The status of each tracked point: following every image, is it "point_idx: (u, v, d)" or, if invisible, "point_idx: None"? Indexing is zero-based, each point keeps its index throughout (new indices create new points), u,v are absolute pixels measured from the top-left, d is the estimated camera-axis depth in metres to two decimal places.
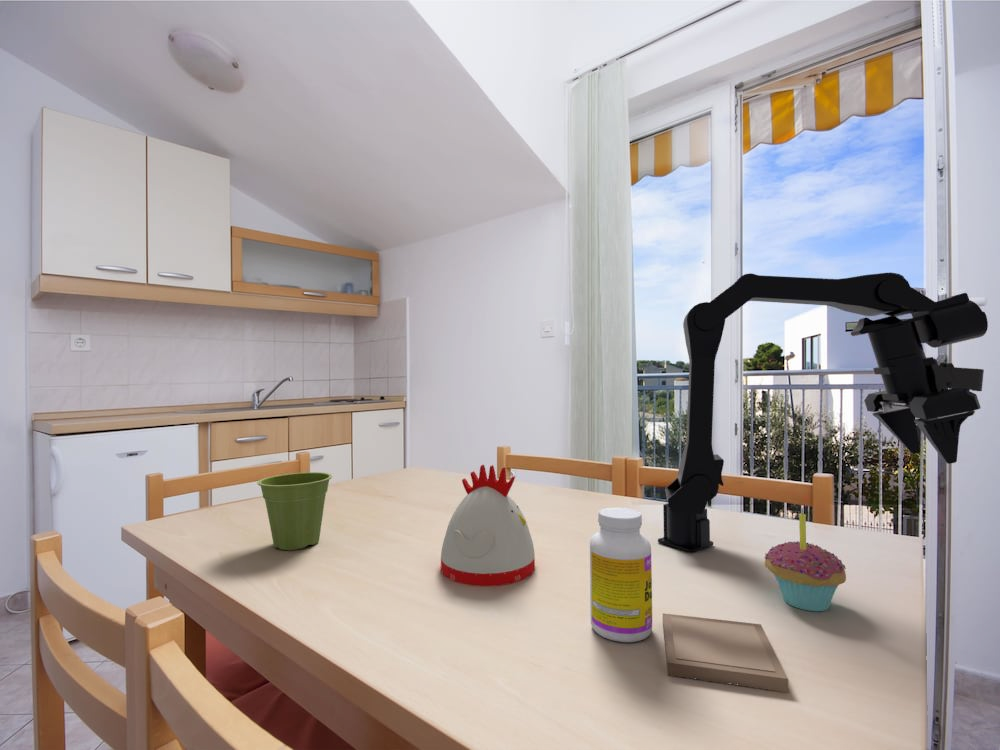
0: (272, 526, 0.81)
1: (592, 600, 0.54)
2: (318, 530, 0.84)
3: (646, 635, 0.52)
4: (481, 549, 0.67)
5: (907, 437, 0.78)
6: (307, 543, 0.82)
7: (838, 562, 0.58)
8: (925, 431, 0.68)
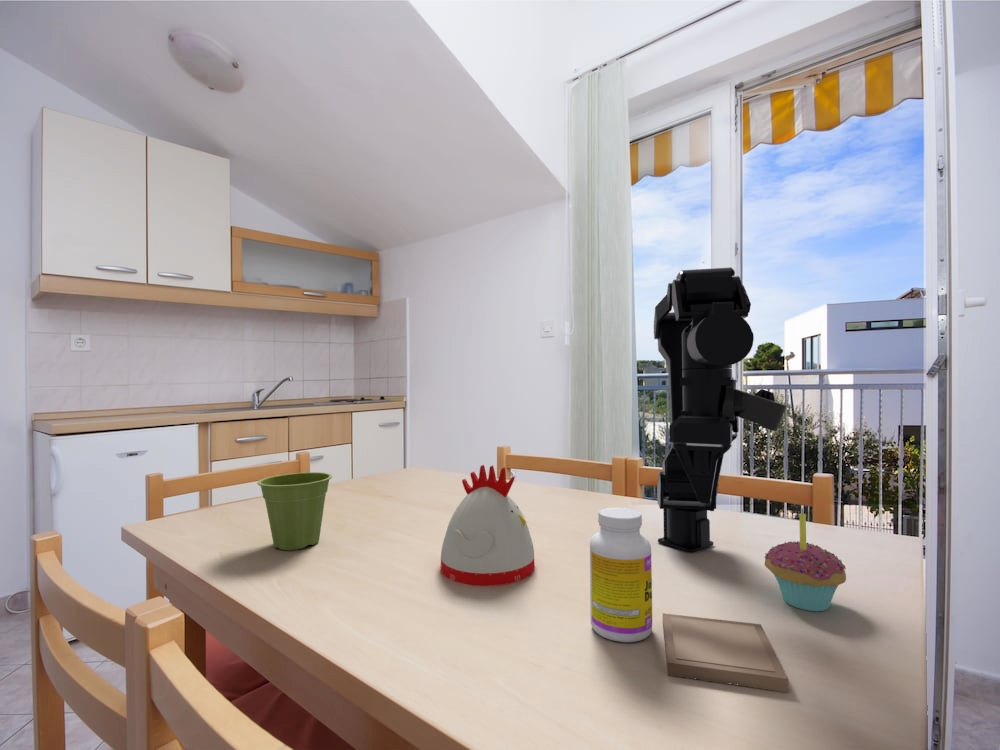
0: (272, 526, 0.81)
1: (592, 600, 0.54)
2: (318, 530, 0.84)
3: (646, 635, 0.52)
4: (481, 549, 0.67)
5: None
6: (307, 543, 0.82)
7: (838, 562, 0.58)
8: None
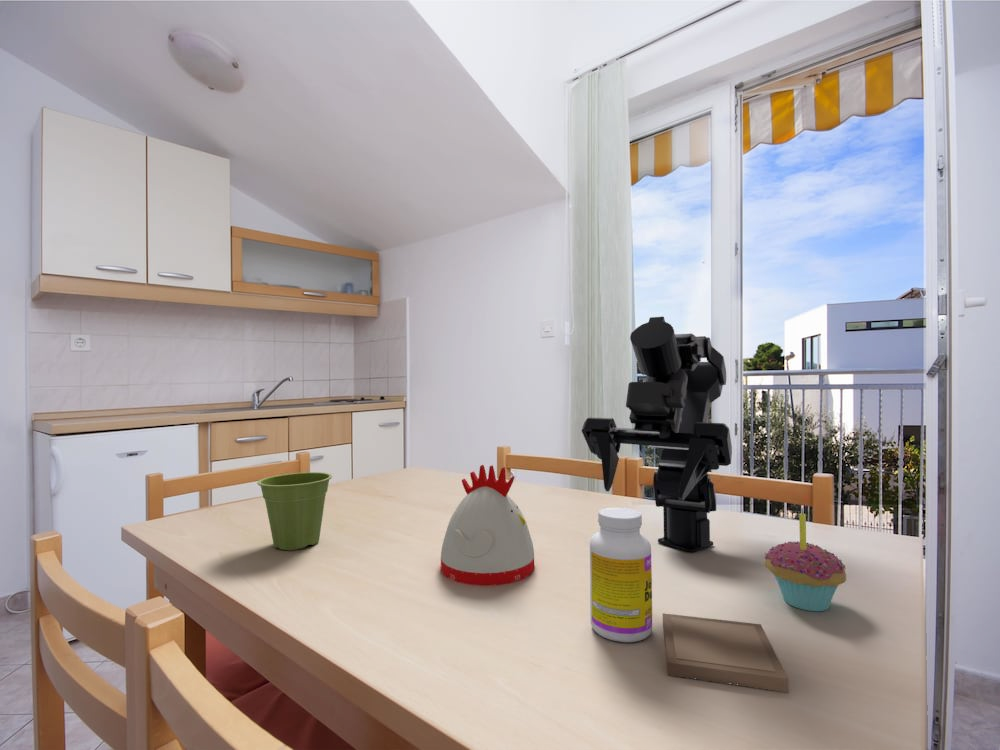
0: (272, 526, 0.81)
1: (592, 600, 0.54)
2: (318, 530, 0.84)
3: (646, 635, 0.52)
4: (481, 549, 0.67)
5: None
6: (307, 543, 0.82)
7: (838, 562, 0.58)
8: None
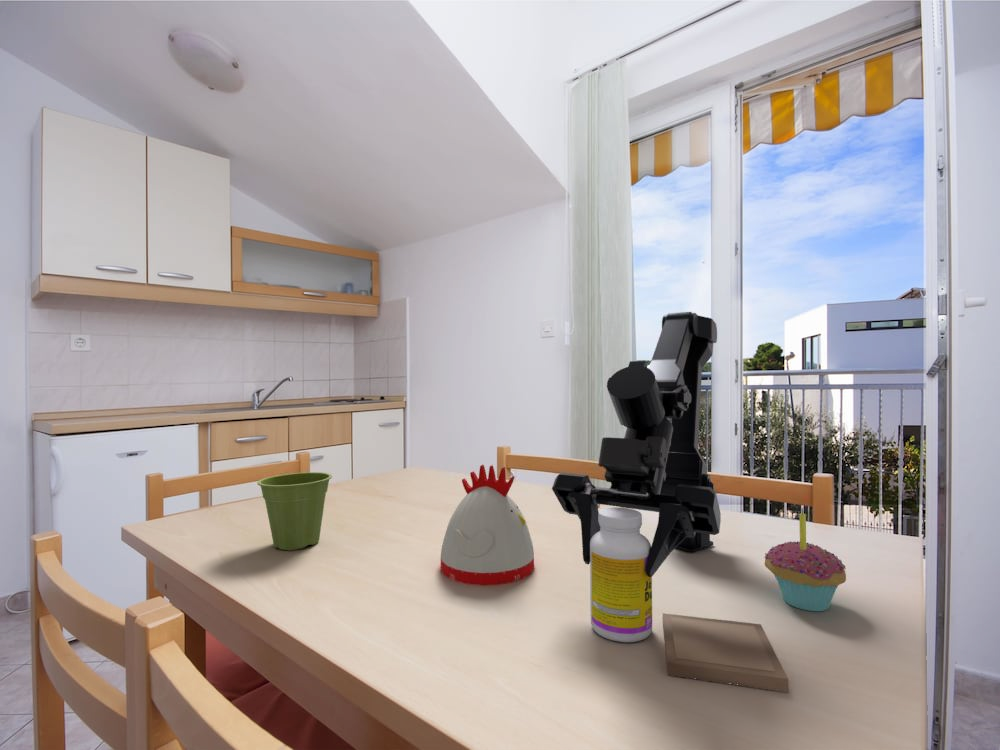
0: (272, 526, 0.81)
1: (592, 600, 0.54)
2: (318, 530, 0.84)
3: (646, 635, 0.52)
4: (481, 548, 0.67)
5: None
6: (307, 543, 0.82)
7: (838, 562, 0.58)
8: None
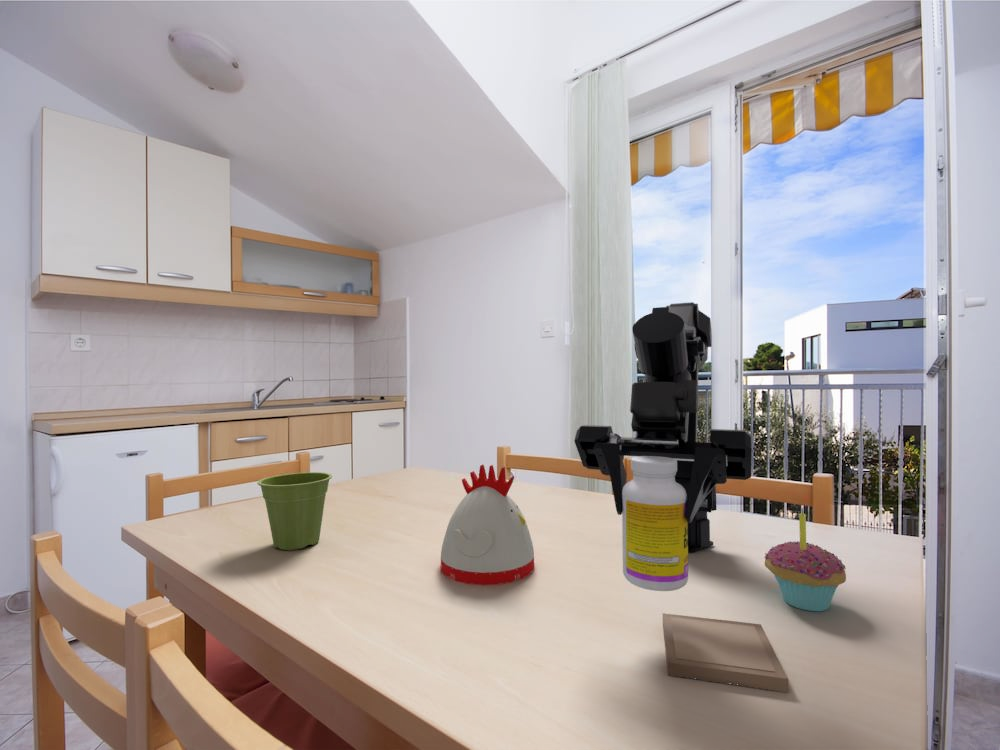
0: (272, 526, 0.81)
1: (627, 551, 0.51)
2: (318, 530, 0.84)
3: (684, 583, 0.50)
4: (481, 548, 0.67)
5: None
6: (307, 543, 0.82)
7: (838, 562, 0.58)
8: None
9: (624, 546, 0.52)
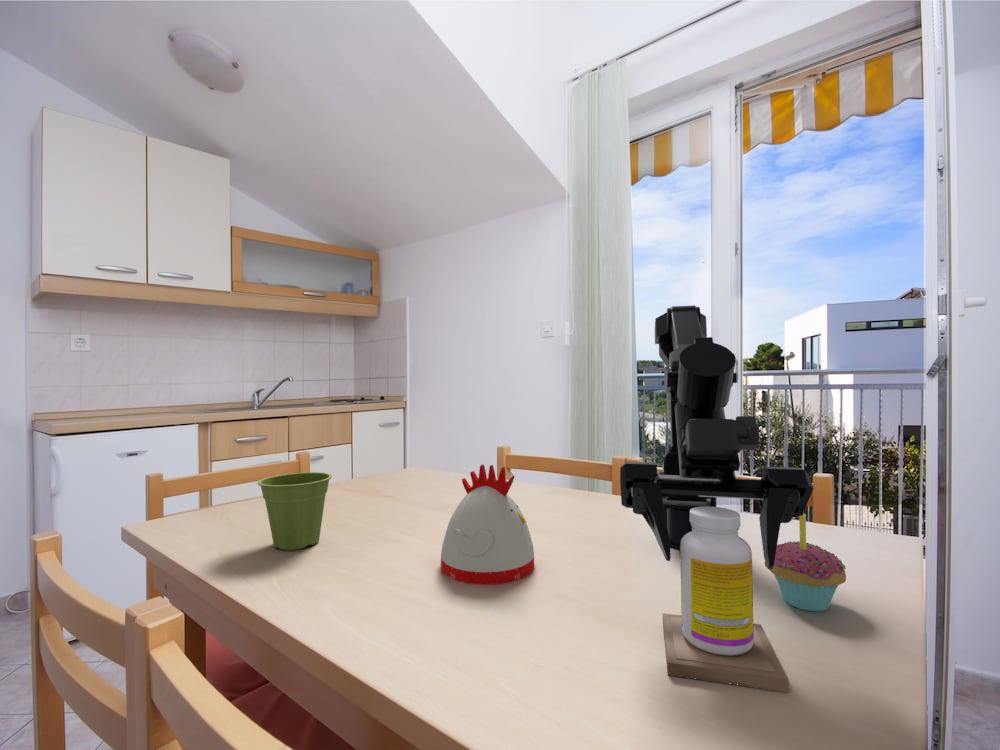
0: (272, 526, 0.81)
1: (693, 613, 0.48)
2: (318, 530, 0.84)
3: None
4: (481, 548, 0.67)
5: (764, 543, 0.49)
6: (307, 543, 0.82)
7: (838, 562, 0.58)
8: None
9: (687, 607, 0.49)
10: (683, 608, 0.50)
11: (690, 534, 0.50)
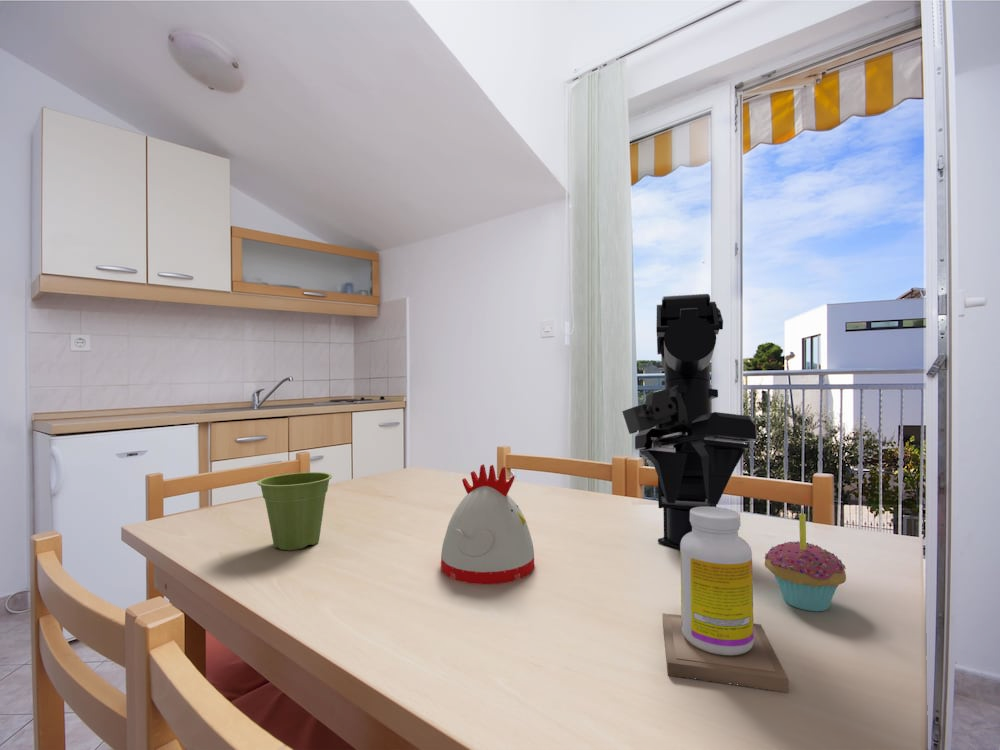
0: (272, 526, 0.81)
1: (693, 613, 0.48)
2: (318, 530, 0.84)
3: None
4: (481, 548, 0.67)
5: None
6: (307, 543, 0.82)
7: (838, 562, 0.58)
8: None
9: (687, 607, 0.49)
10: (683, 608, 0.50)
11: (690, 534, 0.50)
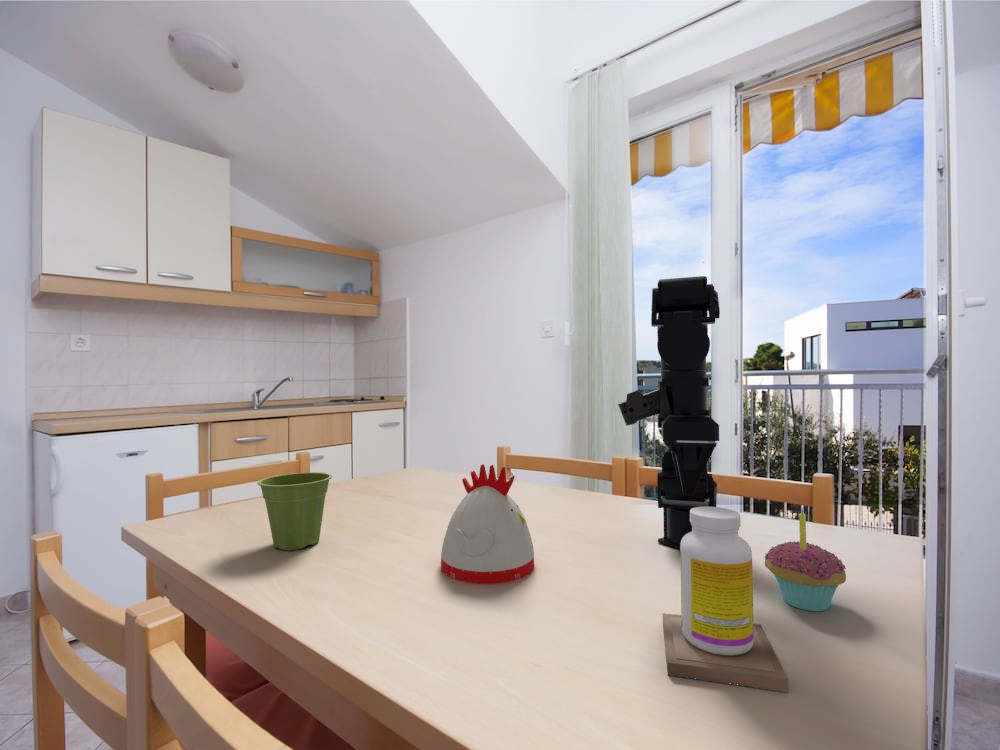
0: (272, 526, 0.81)
1: (693, 613, 0.48)
2: (318, 530, 0.84)
3: None
4: (481, 547, 0.68)
5: None
6: (307, 543, 0.82)
7: (838, 562, 0.58)
8: None
9: (687, 607, 0.49)
10: (683, 608, 0.50)
11: (690, 534, 0.50)
